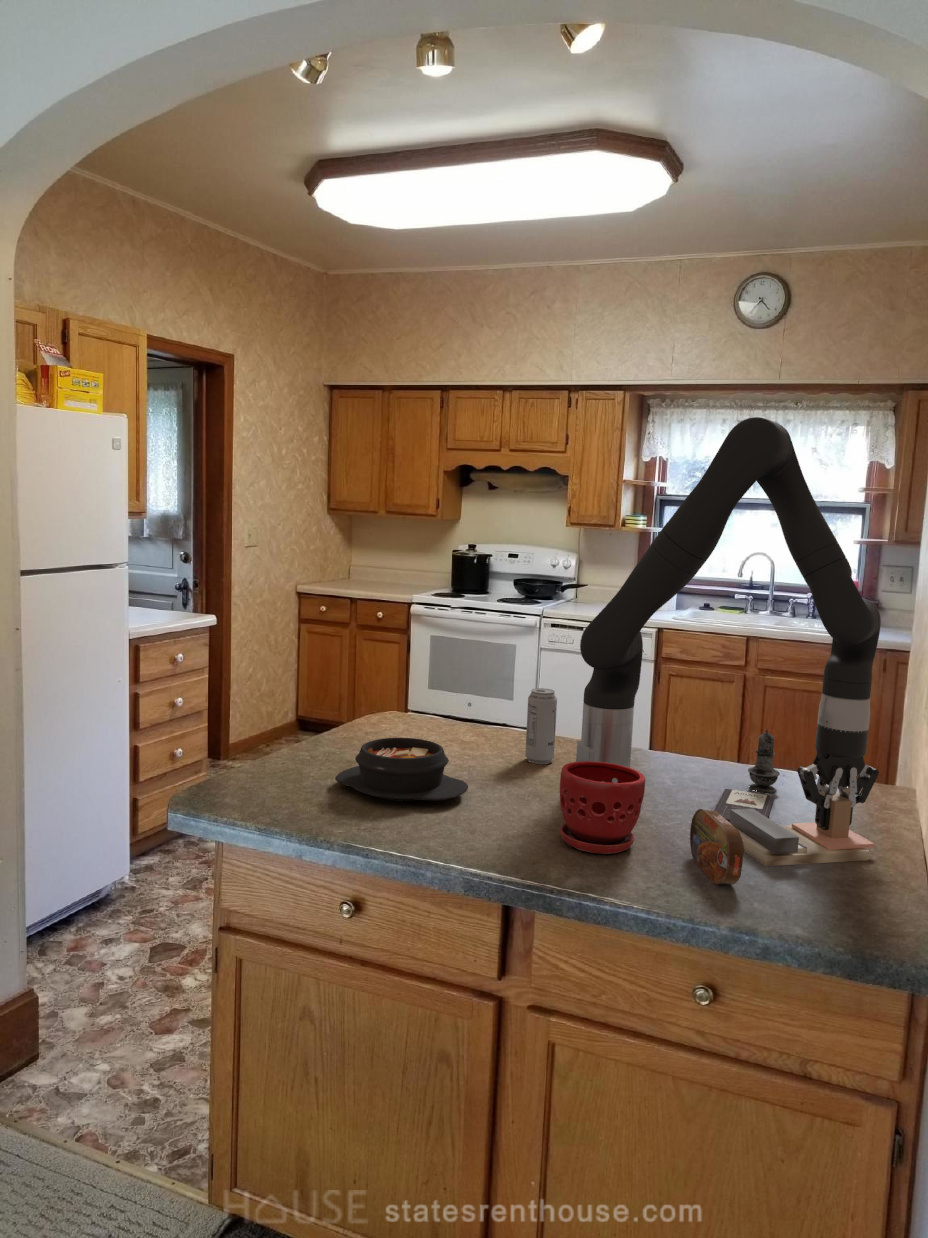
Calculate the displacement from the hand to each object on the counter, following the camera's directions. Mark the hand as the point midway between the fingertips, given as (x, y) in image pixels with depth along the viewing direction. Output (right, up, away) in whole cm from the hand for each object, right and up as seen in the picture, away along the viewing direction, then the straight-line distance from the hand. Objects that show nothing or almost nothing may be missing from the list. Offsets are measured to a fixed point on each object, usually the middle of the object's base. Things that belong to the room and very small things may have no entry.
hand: (832, 827), depth 143 cm
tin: (-22, -4, -12) cm, 26 cm away
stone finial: (-1, 0, +30) cm, 30 cm away
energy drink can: (-44, +4, +43) cm, 61 cm away
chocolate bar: (-9, -1, +18) cm, 20 cm away
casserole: (-71, +2, +19) cm, 74 cm away
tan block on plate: (0, -2, 0) cm, 2 cm away
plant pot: (-38, -2, -2) cm, 38 cm away
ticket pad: (-7, -3, -1) cm, 7 cm away
